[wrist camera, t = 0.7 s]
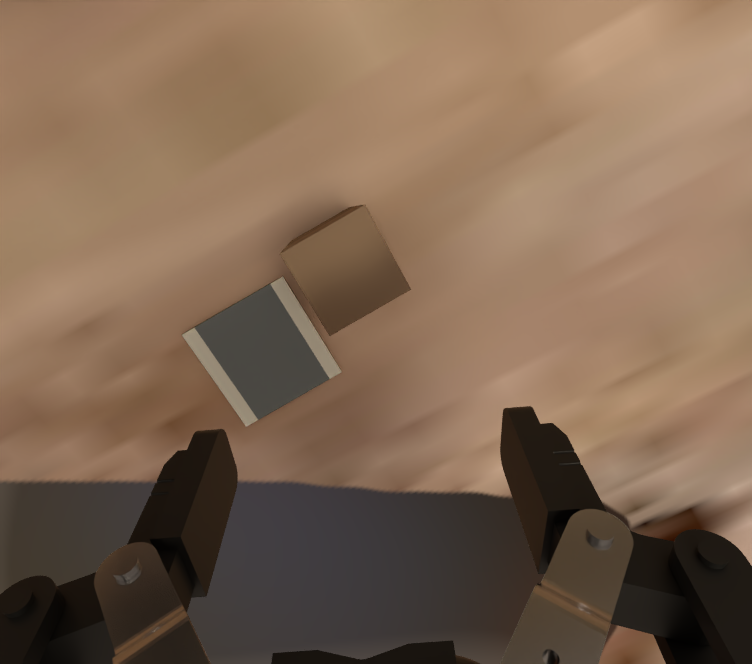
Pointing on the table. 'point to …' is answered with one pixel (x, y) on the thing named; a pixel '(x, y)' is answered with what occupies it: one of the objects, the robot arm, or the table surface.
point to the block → (345, 268)
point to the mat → (262, 351)
